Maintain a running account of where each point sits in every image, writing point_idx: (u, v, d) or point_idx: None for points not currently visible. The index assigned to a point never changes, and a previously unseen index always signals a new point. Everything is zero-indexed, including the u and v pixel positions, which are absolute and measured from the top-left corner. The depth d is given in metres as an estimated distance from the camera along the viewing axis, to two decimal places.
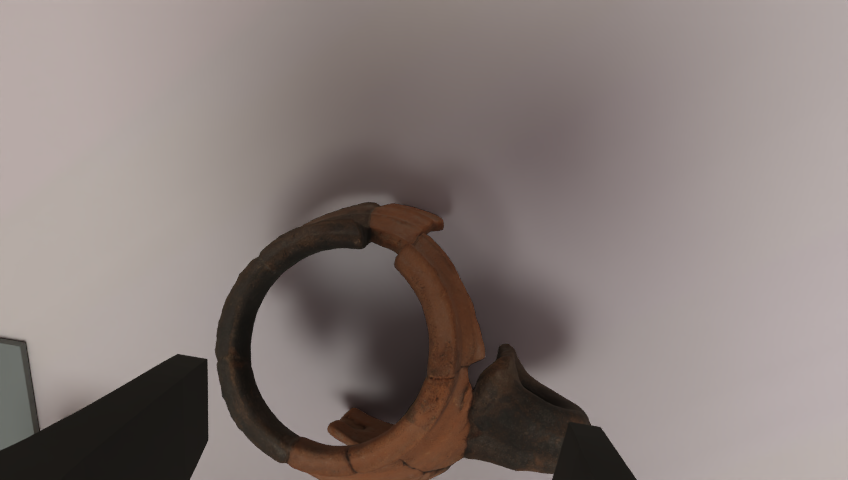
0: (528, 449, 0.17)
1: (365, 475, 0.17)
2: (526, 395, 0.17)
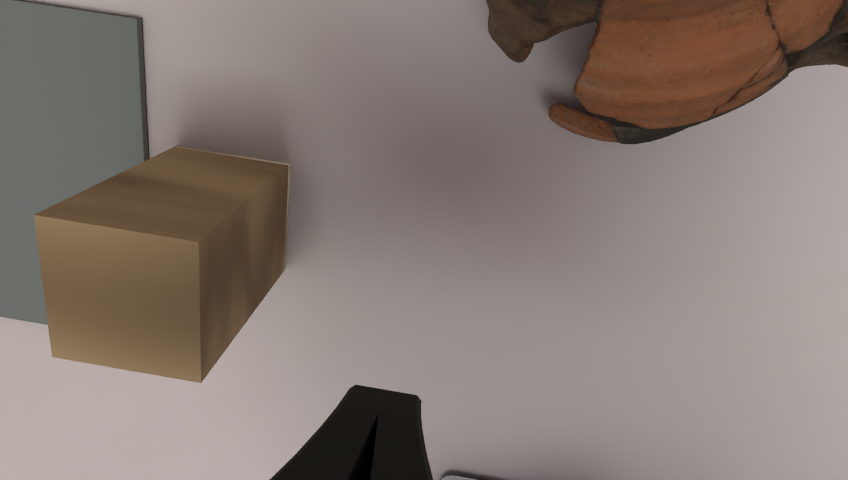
0: None
1: (701, 38, 0.12)
2: None
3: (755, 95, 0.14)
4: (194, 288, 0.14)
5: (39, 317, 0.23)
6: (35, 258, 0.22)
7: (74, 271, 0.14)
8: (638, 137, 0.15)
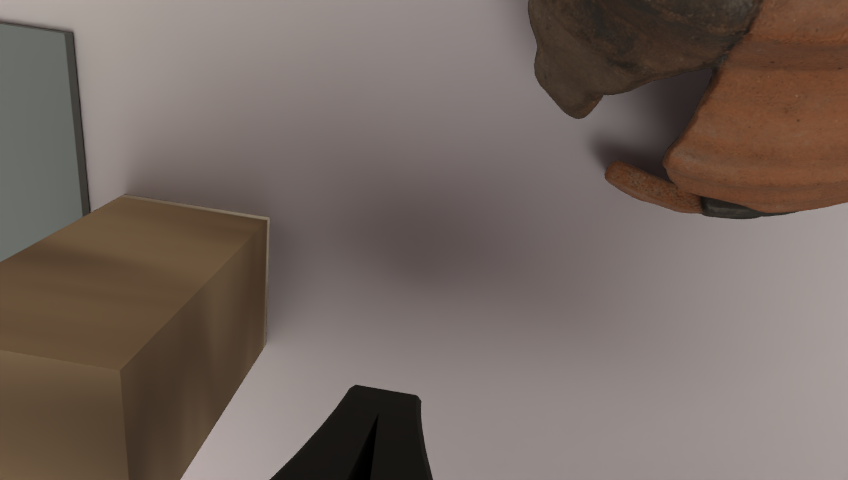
0: None
1: None
2: None
3: None
4: (116, 432, 0.10)
5: None
6: None
7: None
8: (740, 216, 0.11)
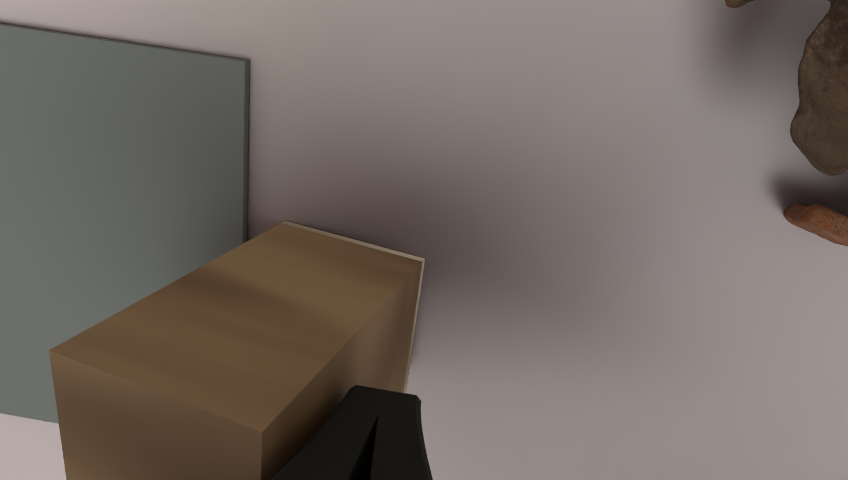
0: None
1: None
2: None
3: None
4: None
5: None
6: None
7: (97, 431, 0.10)
8: None
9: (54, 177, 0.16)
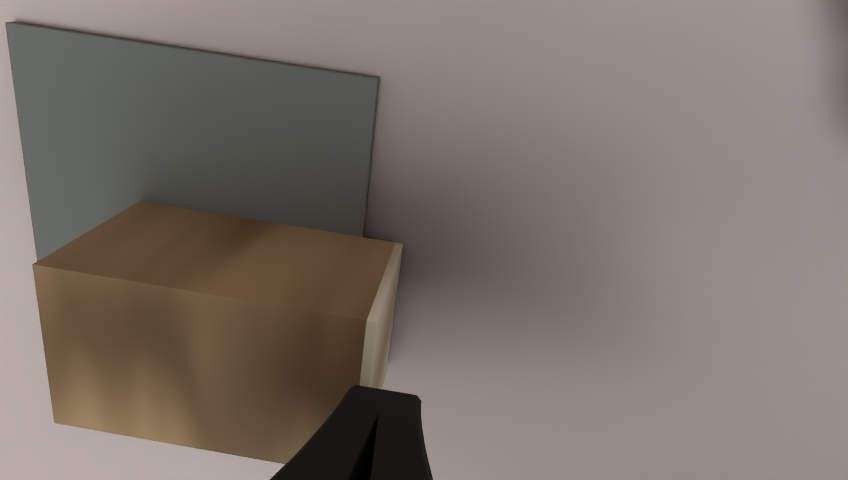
0: None
1: None
2: None
3: None
4: (44, 314, 0.12)
5: None
6: None
7: None
8: None
9: (170, 194, 0.15)
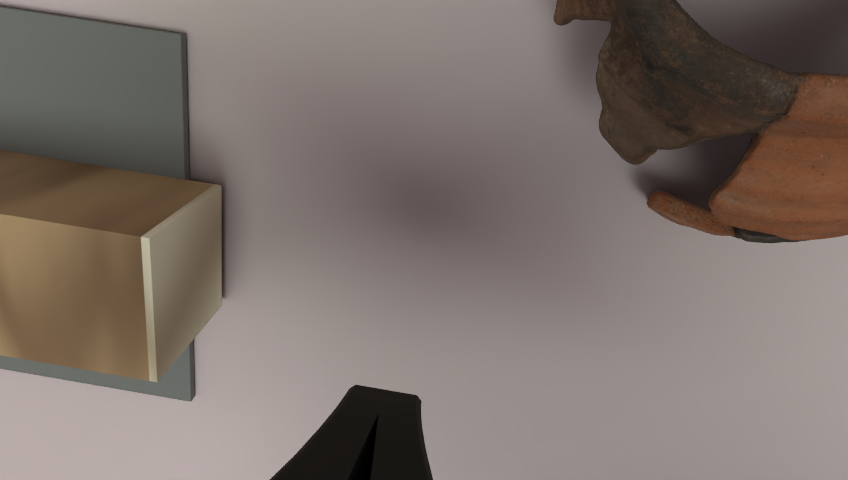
0: None
1: None
2: None
3: None
4: None
5: (60, 372, 0.20)
6: None
7: None
8: None
9: (13, 141, 0.17)
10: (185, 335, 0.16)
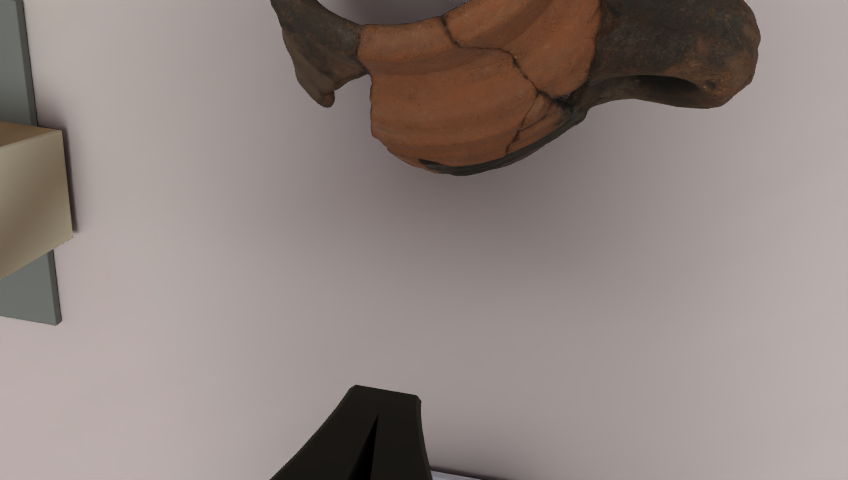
0: (686, 30, 0.12)
1: (460, 89, 0.13)
2: None
3: (543, 134, 0.15)
4: None
5: None
6: None
7: None
8: (455, 172, 0.16)
9: None
10: (23, 253, 0.19)
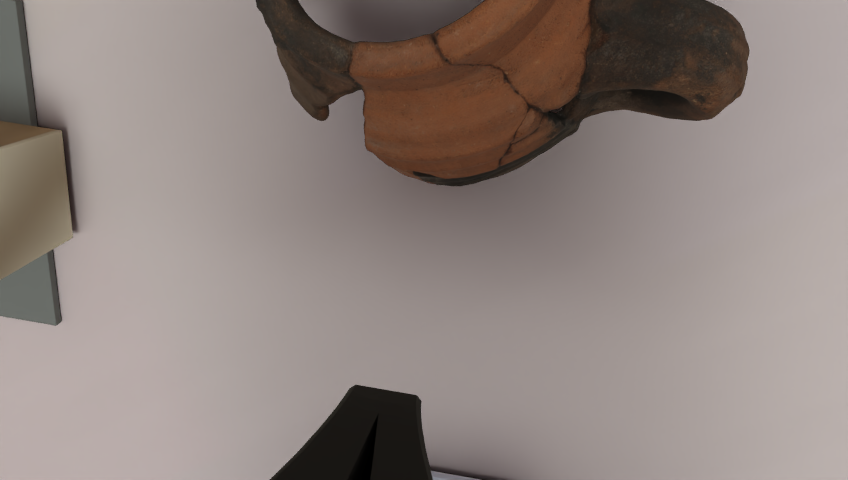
0: (675, 45, 0.12)
1: (451, 104, 0.13)
2: None
3: (536, 146, 0.15)
4: None
5: None
6: None
7: None
8: (449, 183, 0.16)
9: None
10: (23, 253, 0.19)
